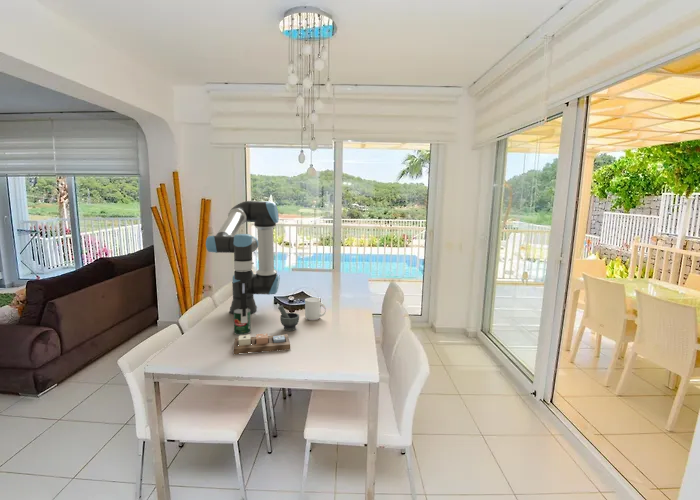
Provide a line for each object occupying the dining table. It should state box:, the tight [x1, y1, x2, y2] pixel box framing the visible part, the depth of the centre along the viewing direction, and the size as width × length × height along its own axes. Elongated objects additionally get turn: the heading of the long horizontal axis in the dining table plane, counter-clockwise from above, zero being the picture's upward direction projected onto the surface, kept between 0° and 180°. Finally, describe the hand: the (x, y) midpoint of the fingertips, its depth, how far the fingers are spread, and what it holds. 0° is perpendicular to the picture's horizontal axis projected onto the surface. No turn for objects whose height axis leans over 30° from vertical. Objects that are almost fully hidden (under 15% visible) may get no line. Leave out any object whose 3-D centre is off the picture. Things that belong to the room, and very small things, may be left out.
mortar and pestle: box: [277, 304, 300, 332], centre depth 180 cm, size 11×9×12 cm
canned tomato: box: [233, 308, 252, 336], centre depth 174 cm, size 8×8×11 cm
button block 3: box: [273, 334, 285, 343], centre depth 160 cm, size 5×5×3 cm
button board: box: [232, 333, 291, 355], centre depth 158 cm, size 24×12×2 cm, turn 106°
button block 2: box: [255, 332, 269, 344], centre depth 158 cm, size 5×5×3 cm
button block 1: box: [238, 334, 252, 346], centre depth 156 cm, size 5×5×3 cm
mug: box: [304, 297, 327, 321], centre depth 197 cm, size 9×12×11 cm
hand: (244, 322), depth 154 cm, fingers closed
